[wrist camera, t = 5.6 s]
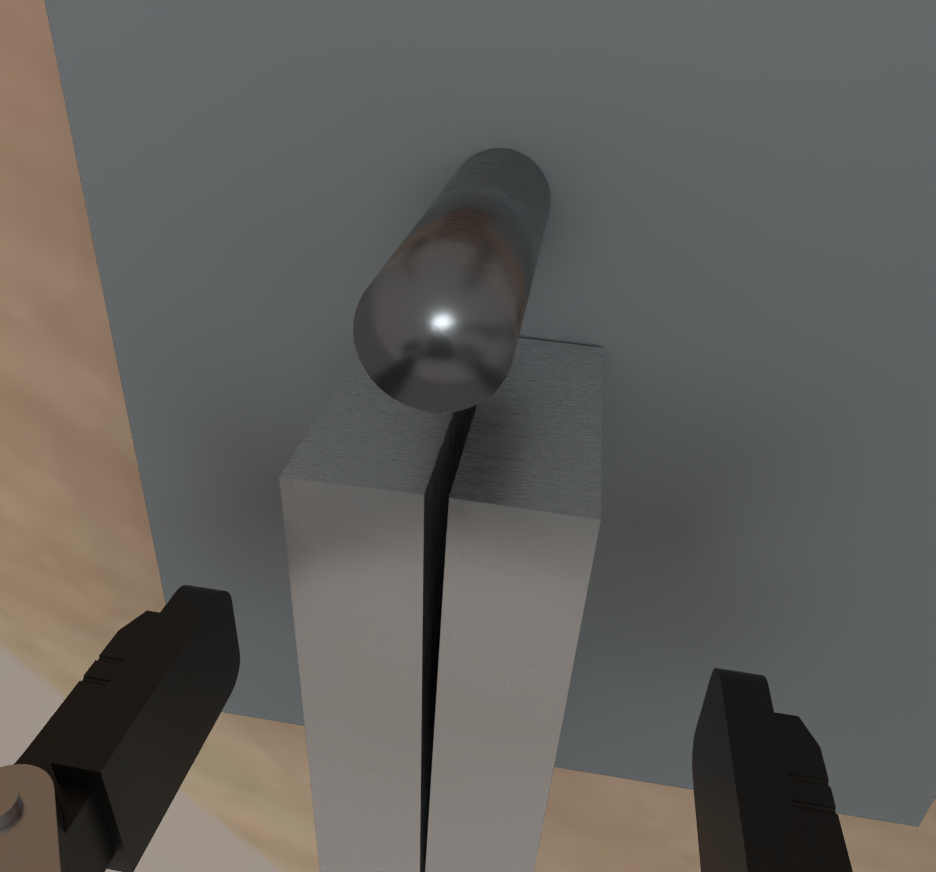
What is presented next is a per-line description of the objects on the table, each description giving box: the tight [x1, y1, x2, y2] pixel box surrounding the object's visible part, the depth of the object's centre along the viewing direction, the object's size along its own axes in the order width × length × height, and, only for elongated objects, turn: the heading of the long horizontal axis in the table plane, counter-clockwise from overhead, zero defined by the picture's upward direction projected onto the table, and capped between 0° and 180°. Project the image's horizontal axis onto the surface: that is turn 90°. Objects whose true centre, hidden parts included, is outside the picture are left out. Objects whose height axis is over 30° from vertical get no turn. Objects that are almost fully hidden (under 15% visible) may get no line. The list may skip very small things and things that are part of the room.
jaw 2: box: [425, 338, 603, 872], centre depth 16 cm, size 12×2×6 cm, turn 176°
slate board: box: [45, 0, 936, 827], centre depth 15 cm, size 20×24×1 cm
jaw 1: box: [279, 357, 477, 872], centre depth 16 cm, size 12×2×6 cm, turn 177°
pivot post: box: [353, 148, 551, 413], centre depth 11 cm, size 2×2×6 cm
